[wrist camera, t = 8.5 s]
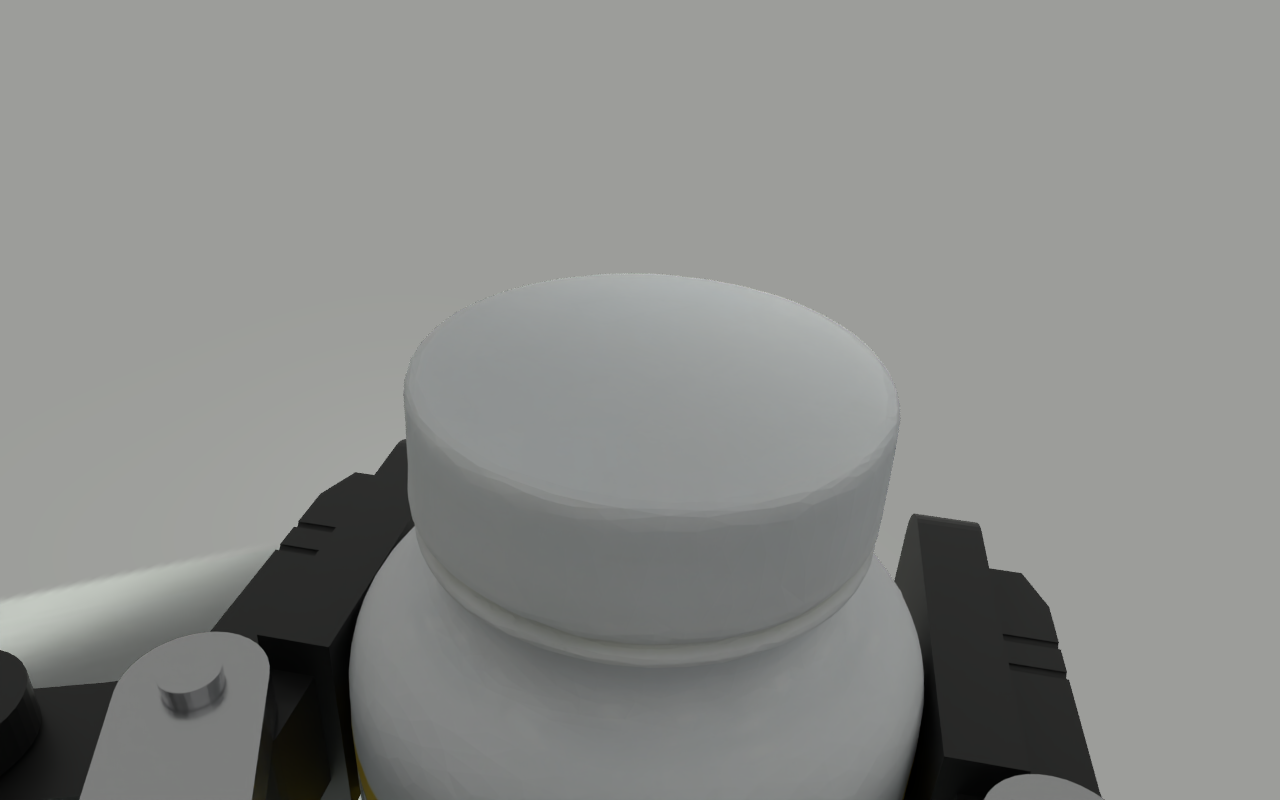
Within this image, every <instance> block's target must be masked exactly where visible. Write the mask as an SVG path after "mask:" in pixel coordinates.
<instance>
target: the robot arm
mask: <svg viewBox="0 0 1280 800" xmlns="http://www.w3.org/2000/svg"><path fill="white" fill-rule="evenodd" d="M414 526H415V524H414V521H413V519H412V515H411V510H410V504H409V499H408V458H407V444H406V439H404V440H402V441H400V442H399V443H398V444H397V445H396V447H395V448H394V449H393V451H392V452H391V453H390V455H389V456H388V458H387V459H386V460H385V461H384V463H383V464H382V466H381V467H380V468H379V470H378V471H377V472H376V474H375V475H369V474H362V473H354V474H352V475H350V476H349V477H347V478H345V479H344V480H342V481H341V482H339V483H337V484H336V485H334V486H332V487H331V488H329V489H328V490H326V491H324V492H323V493H321V494H320V495H319V496H318V498H317V499H316V500H315V501H314V503H313V504H312V505H311V506H310V508H309V509H308V510H307V511H306V513H305V514H304V515H303V516H302V518H301V519H300V520H299V523H298V527H294V528H293V529H292V530H291V531H290V533H289V534H288V535H287V536H286V538H285V539H284V540H283V541H282V543H281V544H280V549H279V550H275V551H274V553H273V554H272V555H271V556H270V558H269V559H268V560H267V561H266V563H265V564H264V565H263V566H262V568H261V569H260V570H259V571H258V573H257V574H256V575H255V576H254V578H253V579H252V580H251V581H250V583H249V584H248V585H247V586H246V588H245V589H244V590H243V591H242V593H241V594H240V595H239V596H238V598H237V599H236V600H235V601H234V603H233V604H232V605H231V606H230V608H229V609H228V610H227V611H226V613H225V614H224V615H223V616H222V618H221V619H220V620H219V621H218V623H217V624H216V625H215V626H214V628H213V629H212V630H211V631H210V632H203V633H197V634H191V635H187V636H183V637H180V638H177V639H174V640H171V641H169V642H166V643H164V644H162V645H160V646H158V647H156V648H154V649H152V650H151V651H149V652H148V653H146V654H145V655H143V656H142V657H141V658H139V659H138V660H137V661H136V662H134V663H133V664H132V665H131V666H130V667H129V668H128V669H127V671H126V672H125V673H124V674H123V675H122V677H121V678H120V680H119V681H115V682H107V683H96V684H84V685H73V686H61V687H50V688H38V689H33V687H32V684H31V682H30V679H29V676H28V673H27V671H26V668H25V667H24V665H23V663H22V662H21V661H20V660H19V659H18V658H17V657H15V656H14V655H12V654H10V653H8V652H5V651H1V650H0V800H358V798H359V796H360V794H361V791H360V784H359V778H358V770H357V762H356V754H355V747H354V740H353V732H352V725H351V704H350V691H349V663H350V653H351V644H352V639H353V635H354V630H355V626H356V622H357V618H358V615H359V612H360V609H361V606H362V603H363V600H364V598H365V596H366V594H367V592H368V590H369V588H370V586H371V584H372V582H373V580H374V578H375V576H376V574H377V572H378V571H379V570H380V568H381V567H382V565H383V564H384V562H385V561H386V559H387V558H388V556H389V555H390V553H391V552H392V550H393V549H394V548H395V547H396V546H397V544H398V543H399V542H400V541H401V540H402V539H403V538H404V537H405V536H406V535H407V534H408V532H409V531H410V530H411V529H412V528H413V527H414ZM894 582H895V583H896V585H897V586H898V588H899V589H900V591H901V593H902V596H903V598H904V600H905V603H906V605H907V607H908V609H909V612H910V614H911V617H912V620H913V623H914V625H915V628H916V631H917V634H918V639H919V644H920V649H921V654H922V660H923V668H924V706H923V713H922V719H921V726H920V733H919V739H918V744H917V749H916V754H915V759H914V763H913V767H912V770H911V774H910V777H909V781H908V785H907V788H906V792H905V796H904V799H903V800H1104V799H1103V798H1102V797H1101V794H1100V792H1099V788H1098V784H1097V781H1096V777H1095V774H1094V770H1093V766H1092V763H1091V759H1090V755H1089V751H1088V748H1087V744H1086V741H1085V737H1084V733H1083V729H1082V726H1081V722H1080V719H1079V715H1078V711H1077V708H1076V704H1075V700H1074V697H1073V693H1072V689H1071V686H1070V682H1069V680H1067V679H1066V673H1067V671H1066V667H1065V664H1064V660H1063V656H1062V653H1061V650H1059V649H1058V643H1059V642H1058V639H1057V635H1056V631H1055V627H1054V624H1053V620H1052V617H1051V613H1050V609H1049V606H1048V605H1047V604H1046V603H1045V602H1044V600H1043V599H1042V598H1041V597H1040V596H1039V594H1038V593H1037V592H1036V590H1034V588H1033V587H1032V586H1031V585H1030V583H1029V582H1028V581H1027V579H1026V578H1025V577H1024V576H1023V575H1022V574H1021V573H1016V572H1009V571H1003V570H996V569H989V566H988V561H987V556H986V551H985V546H984V542H983V537H982V532H981V528H980V526H979V524H978V523H975V522H967V521H961V520H953V519H947V518H940V517H933V516H926V515H919V514H913V515H912V516H911V518H910V520H909V523H908V527H907V530H906V534H905V539H904V543H903V547H902V551H901V556H900V560H899V564H898V568H897V572H896V577H895V581H894Z"/></svg>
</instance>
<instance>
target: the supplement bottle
mask: <svg viewBox="0 0 1280 800" xmlns="http://www.w3.org/2000/svg"><path fill="white" fill-rule="evenodd" d="M404 408H405V421H406V444H407V458H408V499H409V504H410V510H411V515H412V519H413V521H414V524H415V526H414V527H413V528H412V529H411V530H410V531H409V532H408V534H407V535H406V536H405V537H404V538H403V539H402V540H401V541H400V542H399V543H398V544H397V546H396V547H395V548H394V549H393V550H392V552H391V553H390V555H389V556H388V558H387V559H386V561H385V562H384V564H383V565H382V567H381V568H380V570H379V571H378V572H377V574H376V576H375V578H374V580H373V582H372V584H371V586H370V588H369V590H368V592H367V594H366V596H365V598H364V600H363V603H362V606H361V609H360V612H359V615H358V618H357V622H356V626H355V630H354V635H353V639H352V644H351V653H350V663H349V691H350V704H351V725H352V732H353V740H354V747H355V754H356V762H357V770H358V778H359V784H360V791H361V797H362V800H903V799H904V796H905V792H906V788H907V785H908V781H909V777H910V774H911V770H912V767H913V763H914V759H915V754H916V749H917V744H918V739H919V733H920V726H921V719H922V713H923V706H924V668H923V660H922V654H921V649H920V644H919V639H918V634H917V631H916V628H915V625H914V623H913V620H912V617H911V614H910V612H909V609H908V607H907V605H906V603H905V600H904V598H903V596H902V593H901V591H900V589H899V588H898V586H897V585H896V583H895V582H894V580H893V579H892V577H891V575H890V574H889V572H888V571H887V570H886V568H885V567H884V566H883V564H882V563H881V562H880V560H879V559H878V557H877V556H876V555H875V554H874V553H873V552H874V547H875V542H876V540H877V537H878V532H879V528H880V523H881V520H882V515H883V510H884V505H885V500H886V495H887V490H888V485H889V481H890V475H891V470H892V465H893V460H894V454H895V449H896V443H897V437H898V430H899V425H900V403H899V399H898V395H897V390H896V386H895V384H894V382H893V380H892V378H891V375H890V373H889V371H888V370H887V368H886V367H885V366H884V364H883V363H882V362H881V360H880V359H879V358H878V357H877V355H876V354H875V353H874V352H873V351H872V350H871V349H870V348H869V347H868V346H867V345H866V344H865V343H864V342H863V341H862V340H861V339H859V338H858V337H857V336H856V335H854V334H853V333H852V332H850V331H849V330H847V329H846V328H844V327H843V326H841V325H840V324H838V323H837V322H835V321H833V320H831V319H830V318H828V317H826V316H824V315H823V314H821V313H819V312H816V311H814V310H812V309H810V308H808V307H805V306H803V305H801V304H799V303H797V302H794V301H792V300H788V299H786V298H783V297H780V296H776V295H775V294H770V293H765V292H762V291H759V290H755V289H752V288H749V287H744V286H740V285H735V284H730V283H725V282H720V281H714V280H709V279H701V278H691V277H683V276H675V275H663V274H644V273H628V274H598V275H590V276H581V277H572V278H571V277H570V278H563V279H556V280H549V281H544V282H540V283H534V284H530V285H526V286H522V287H518V288H515V289H511V290H507V291H504V292H501V293H499V294H496V295H493V296H491V297H488V298H485V299H483V300H480V301H478V302H475V303H473V304H471V305H469V306H467V307H465V308H463V309H462V310H460V311H458V312H456V313H455V314H453V315H452V316H450V317H449V318H448V319H446V320H445V321H444V322H442V323H441V324H440V325H438V326H437V327H436V328H435V329H434V330H433V331H432V332H431V333H430V334H429V335H428V336H427V337H426V338H425V339H424V340H423V341H422V342H421V344H420V345H419V347H418V348H417V350H416V352H415V353H414V355H413V357H412V358H411V360H410V363H409V367H408V370H407V374H406V377H405V382H404Z"/></svg>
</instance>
